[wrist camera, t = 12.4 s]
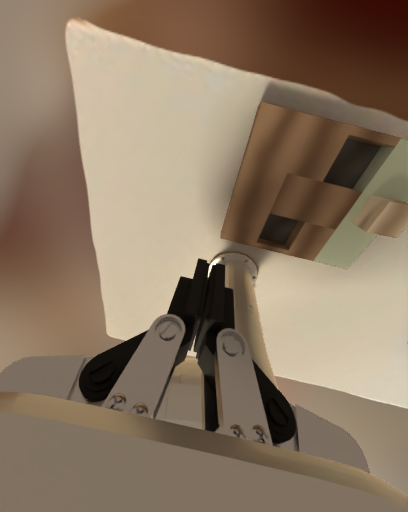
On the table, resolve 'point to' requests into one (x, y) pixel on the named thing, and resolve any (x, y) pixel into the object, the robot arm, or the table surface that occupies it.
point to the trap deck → (298, 180)
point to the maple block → (383, 216)
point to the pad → (370, 183)
